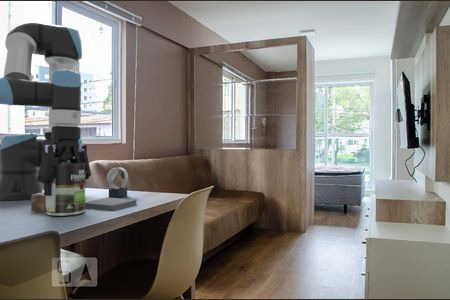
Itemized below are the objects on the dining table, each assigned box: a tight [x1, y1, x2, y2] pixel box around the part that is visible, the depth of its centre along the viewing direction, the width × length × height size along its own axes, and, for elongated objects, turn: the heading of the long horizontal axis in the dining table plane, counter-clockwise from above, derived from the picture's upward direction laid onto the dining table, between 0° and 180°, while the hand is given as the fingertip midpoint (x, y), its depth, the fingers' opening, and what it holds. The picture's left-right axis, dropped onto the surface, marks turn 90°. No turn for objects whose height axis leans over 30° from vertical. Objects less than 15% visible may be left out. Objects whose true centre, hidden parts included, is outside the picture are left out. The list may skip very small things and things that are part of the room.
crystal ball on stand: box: [106, 167, 130, 199], centre depth 132 cm, size 6×8×11 cm
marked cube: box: [30, 192, 46, 214], centre depth 104 cm, size 5×5×5 cm
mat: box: [85, 197, 137, 211], centre depth 113 cm, size 12×12×2 cm
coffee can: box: [45, 162, 86, 217], centre depth 100 cm, size 10×10×14 cm
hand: (65, 204), depth 100 cm, fingers closed on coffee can, 10 cm apart
